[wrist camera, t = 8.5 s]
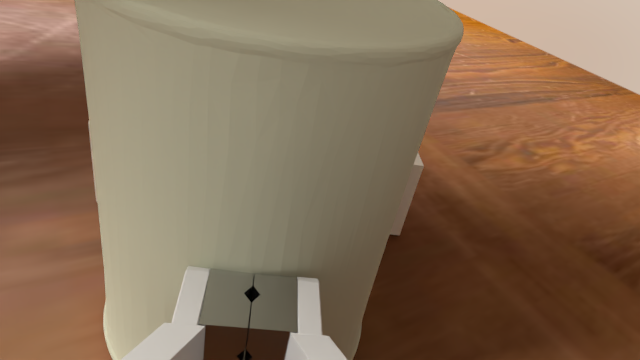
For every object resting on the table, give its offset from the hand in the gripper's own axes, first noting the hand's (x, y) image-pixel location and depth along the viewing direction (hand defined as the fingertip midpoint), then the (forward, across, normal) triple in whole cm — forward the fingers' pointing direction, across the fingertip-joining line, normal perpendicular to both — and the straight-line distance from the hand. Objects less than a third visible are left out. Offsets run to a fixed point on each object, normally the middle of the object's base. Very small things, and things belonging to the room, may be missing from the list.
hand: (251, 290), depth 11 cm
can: (+4, 0, +6) cm, 7 cm away
